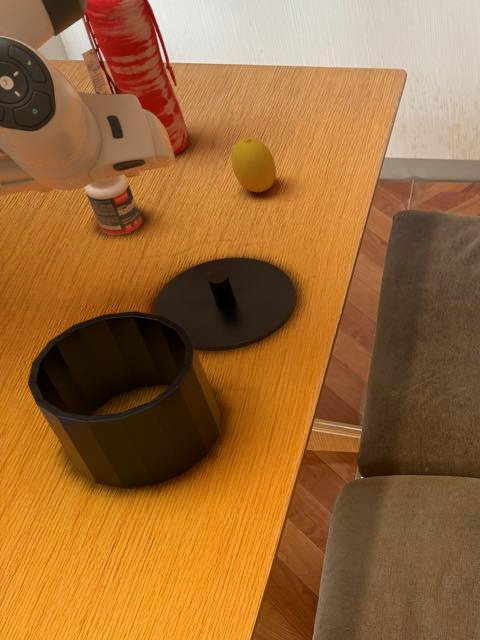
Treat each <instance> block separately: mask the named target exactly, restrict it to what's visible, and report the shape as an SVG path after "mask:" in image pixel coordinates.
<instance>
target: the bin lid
mask: <svg viewBox="0 0 480 640" xmlns="http://www.w3.org/2000/svg"><path fill="white" fill-rule="evenodd" d="M296 299H297V295H296V289H295V286H294V283H293V281H292V280H291V277H290V276H288V274H287V273H286V272H285V271H284V270H282V268H280V267H278V266H276V265H274V264H273V263H270V262H267V261H264V260H261V259H257V258H250V257H238V256H237V257H223V258H217V259H212V260H208V261H205V262H201V263H199V264H196V265H194V266H191V267H189V268H187V269H185V270H183V271H182V272H180V273H178V274H177V275H176V276H174V277H173V278H171V280H169V281H168V282H167V283H166V284H165V285H164V286H163V288H162V289H161V290H160V292H159V294H158V295H157V298H156V299H155V304H154V314H155V315H161V316H164V317H166V318H167V319H169V320H171V321H173V322H174V323H176V324H178V325H180V326H182V327H183V328H184V329H185V331H186V333H187V334H188V336H189V338H190V339H191V341H192V343H193V344H194V347H195V349H196V350H200V351H211V352H212V351H213V352H214V351H228V350H234V349H239V348H242V347H246V346H249V345H253V344H255V343H257V342H259V341H262V340H263V339H266V338H267V337H269V336H271V335H272V334H274V333H275V332H277V331H278V330H279V329H280V328H281V327H282V326H284V324H285V323H286V322H287V321H288V319H289V318H290V317H291V315H292V314H293V311H294V309H295V306H296Z"/></svg>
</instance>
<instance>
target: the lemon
mask: <svg viewBox="0 0 480 640" xmlns="http://www.w3.org/2000/svg"><path fill="white" fill-rule="evenodd" d="M231 151H232V152H231V165H232V171H233V173H234V176H235V178H236V180H237V181H238V183H239V184H240V185H241V186H242V187H243V188H245V189H246V190H247V191H250V192H254V193H262V192H265V191H267V190H269V189H270V188H271V187H272V186H273V184H274V182H275V180H276V175H277V168H276V162H275V160H274V157H273V155H272V152H271V150H270V149H269V147H268V146H267V145H266V144H265V143H264V142H262V141H261V140H260V139H258V138H254V137H249V136H246V137H244V138H243V139H240V140H239V141H238V142H236V144H235V145H234V146H233V149H232V150H231Z"/></svg>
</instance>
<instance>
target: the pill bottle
mask: <svg viewBox="0 0 480 640" xmlns="http://www.w3.org/2000/svg"><path fill="white" fill-rule="evenodd" d="M84 192H85V195H86V197H87V199H88V202H89V204H90V206H91V209H92V211H93V213H94V216H95V218H96V220H97V222H98V225H99V227H100V229H101V231H102V232H103V233H106V234H109V235H112V236H113V235H115V236H117V235H124V234H128V233H131V232H133V231H135V230H136V229H138V228H139V227H140V226H141V224H142V219H143V218H142V215H141V214H140V211H139V208H138V205H137V203H136V200H135V198H134V196H133V195H134V194H133V192H132V189H131V187H130V185H129V182H128V180H127V177H126V176H125V175H118V176H113V177H107V178H102V179H100V180H95V181H94V182H92V183H91V184H89V185H88V186H86V187H84Z"/></svg>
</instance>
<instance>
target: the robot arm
mask: <svg viewBox="0 0 480 640" xmlns="http://www.w3.org/2000/svg"><path fill="white" fill-rule="evenodd" d="M86 5H87V0H0V197H4V196H11V195H15V194H16V195H17V194H22V193H27V192H32V191H37V192H38V193H39V194H45V193H50V192H54V190H58V191H76V190H80V189H82V188H85V187H86V186H88V185H89V184H91V183H92V182H94V181H95V180H100V179H102V178H107V177H113V176H118V175H123V176H124V177H125V178H126V179H128V178H133V177H139V176H140V172H146V171H152V170H157V169H164V168H169V167H171V166H174V165H175V164H176V162H177V161H176V155H174V152H173V149H172V145H171V142H170V139H169V136H168V133H167V131H166V129H165V127H164V126H163V124H162V123H161V122H160V120H159V119H158V118H157V117H156V116H155V115H154V114H153V113H151V112H150V111H147V110H145V109H142V107H141V104H140V102H139V100H138V98H137V97H136V96H135V95H132V94H116V93H114V94H112V93H110V94H96V93H93V92H91V93H90V92H85V91H78V90H77V89H76V87H75V86H74V84H72V82H71V81H70V79H68V77H67V76H66V75H65V74H64V72H62V71H61V69H59V68H58V66H56V65H55V64H54V63H53V62H52V61H50V60H49V59H48V58H47V56H45V55H43V54H42V53H41V52H40V51H38V50H39V49H40V48H41V47H42V46H44V45H45V44H46V43H47V42H48V41H49V40H51V39H52V38H53V37H57V36H58V35H60V34H61V33H62V32H64V31H66V30H67V29H69V28H70V27H71V26H73V25H74V24H76V23H77V22H78V21H80V20H81V19H82V18H83V17H85V11H86Z"/></svg>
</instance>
